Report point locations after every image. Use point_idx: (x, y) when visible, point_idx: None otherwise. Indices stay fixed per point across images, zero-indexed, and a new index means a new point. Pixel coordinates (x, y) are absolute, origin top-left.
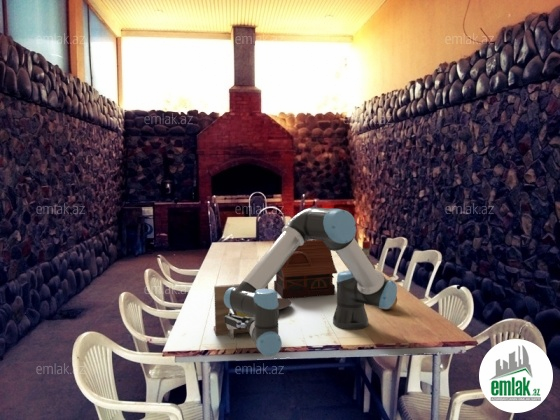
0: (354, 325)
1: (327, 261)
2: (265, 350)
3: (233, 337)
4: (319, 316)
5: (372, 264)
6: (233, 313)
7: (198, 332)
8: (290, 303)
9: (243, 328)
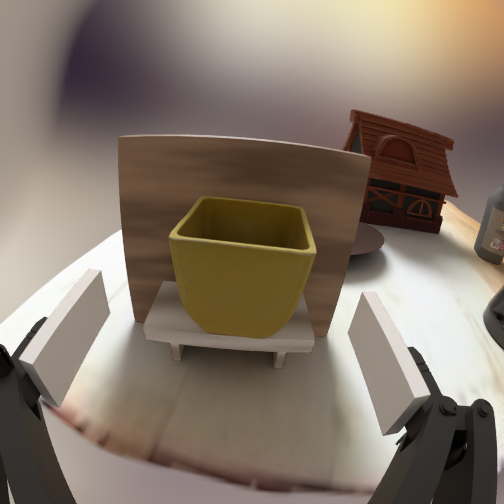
0: None
1: (441, 171)
2: None
3: (179, 358)
4: (446, 291)
5: None
6: (34, 355)
7: (105, 287)
8: (381, 239)
9: None
